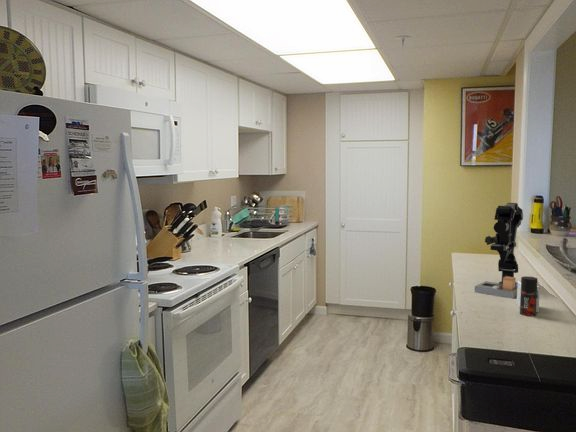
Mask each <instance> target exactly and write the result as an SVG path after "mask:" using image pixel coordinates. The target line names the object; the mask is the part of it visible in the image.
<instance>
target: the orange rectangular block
mask: <svg viewBox="0 0 576 432" xmlns="http://www.w3.org/2000/svg"><path fill="white" fill-rule="evenodd" d="M515 282H516V277H515V276H514V277H508V276H506V277H503V289H510V290H514V289H515V286H516V283H515Z"/></svg>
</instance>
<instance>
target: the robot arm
mask: <svg viewBox="0 0 576 432" xmlns="http://www.w3.org/2000/svg"><path fill="white" fill-rule="evenodd" d="M495 208H496V209H495V213H494V218H493V219H494V220H495V221H496V222H495V223H494V225H493V230H494V232H495V235H494V236H492V237H491V235H488V236H485V239H484V243H486V246H488V245H490V250H491V251H496V252H497V253H498V255H499V259H498V263H497V264H498V272H501V280H500V281H499V282H498V283H501V284H503V277H506V276H508V277H515V274H517V273H519V264H518V261H517V257H516V255H515V248H516V247H517V242H516V239H517V234H518V233H517V231H518V228H519V227H520V226H521V225H522V221H523V219H524V212H523V209H522V208H521V207H519V204H518V203H517V202H507V203H506V204H505V205H497V207H495ZM516 283H517V282H516V281H515V284H516Z"/></svg>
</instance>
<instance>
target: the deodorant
mask: <svg viewBox="0 0 576 432" xmlns="http://www.w3.org/2000/svg"><path fill="white" fill-rule="evenodd" d="M520 281H521V297H520V308H519V314H520V315H522V316H523V317H524V316H525V317H536V315H537V312H536V300H537V285H538V277H535V276H521V280H520Z"/></svg>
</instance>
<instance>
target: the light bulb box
mask: <svg viewBox="0 0 576 432" xmlns="http://www.w3.org/2000/svg"><path fill="white" fill-rule="evenodd" d="M516 283H517V284H516V286H517V297H516V306H517V308H519V309H520V297H521V280H517V282H516ZM540 289H541V287H540V286H539V285H538V284H537V300H536V313H539V311H540Z"/></svg>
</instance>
